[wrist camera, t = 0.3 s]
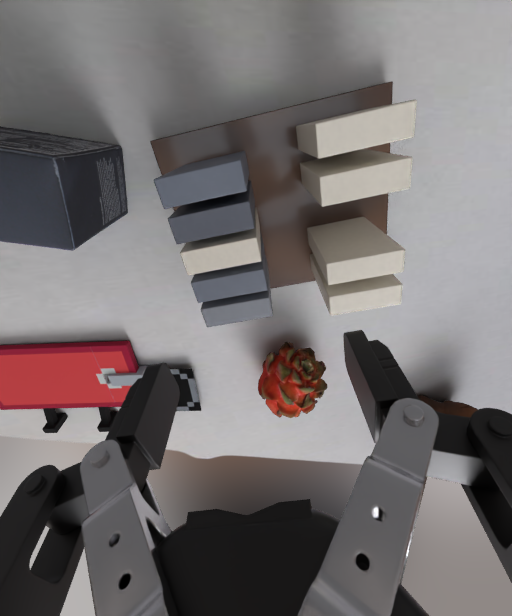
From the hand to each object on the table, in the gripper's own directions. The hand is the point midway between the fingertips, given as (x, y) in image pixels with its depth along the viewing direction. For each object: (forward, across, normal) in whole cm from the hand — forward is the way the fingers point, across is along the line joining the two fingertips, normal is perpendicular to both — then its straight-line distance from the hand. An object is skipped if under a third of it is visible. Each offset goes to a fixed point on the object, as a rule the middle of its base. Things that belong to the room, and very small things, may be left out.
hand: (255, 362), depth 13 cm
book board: (+20, -3, -1) cm, 20 cm away
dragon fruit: (+20, -1, +20) cm, 28 cm away
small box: (+20, +16, -8) cm, 27 cm away
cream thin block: (+18, +2, -1) cm, 19 cm away
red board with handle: (+20, +28, +17) cm, 38 cm away
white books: (+18, -8, -1) cm, 20 cm away
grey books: (+18, +2, -1) cm, 19 cm away
